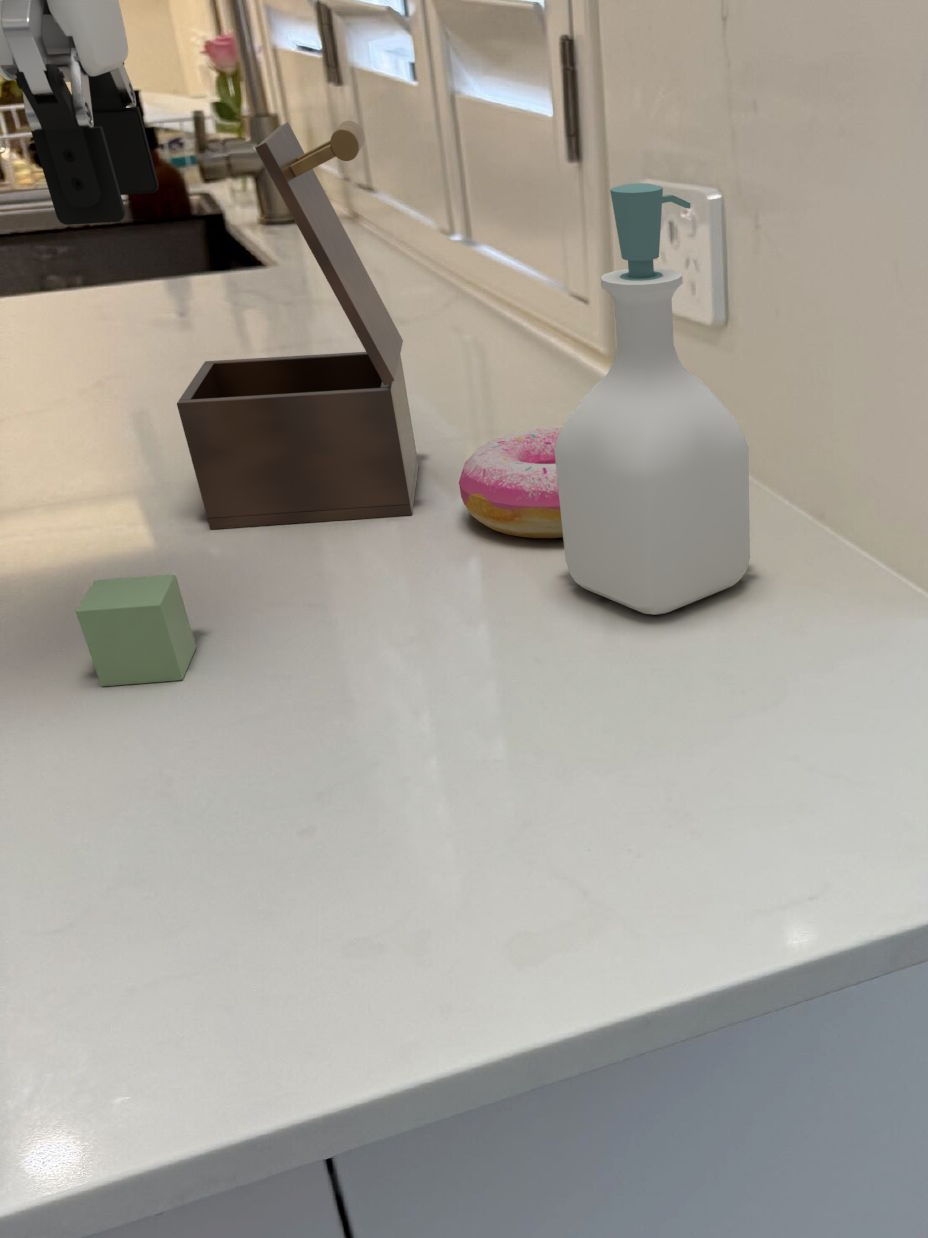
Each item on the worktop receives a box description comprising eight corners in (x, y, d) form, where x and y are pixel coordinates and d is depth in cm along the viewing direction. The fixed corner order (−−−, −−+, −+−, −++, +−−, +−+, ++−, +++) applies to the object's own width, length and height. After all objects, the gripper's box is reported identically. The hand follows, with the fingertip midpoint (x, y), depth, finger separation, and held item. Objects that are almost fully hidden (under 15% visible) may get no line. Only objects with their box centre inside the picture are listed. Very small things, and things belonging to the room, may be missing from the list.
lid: (254, 148, 83) (333, 107, 82) (278, 127, 92) (348, 90, 91) (384, 385, 92) (456, 351, 91) (394, 345, 101) (459, 313, 100)
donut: (518, 478, 104) (510, 412, 101) (675, 493, 100) (672, 425, 97) (432, 538, 94) (420, 466, 91) (603, 557, 90) (597, 484, 87)
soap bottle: (763, 585, 86) (761, 181, 72) (653, 631, 80) (627, 205, 66) (664, 548, 91) (643, 167, 77) (555, 589, 86) (511, 188, 72)
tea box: (209, 529, 96) (176, 403, 91) (234, 478, 105) (204, 361, 100) (412, 515, 98) (390, 390, 92) (418, 466, 107) (399, 349, 101)
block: (101, 687, 76) (75, 611, 73) (118, 653, 80) (94, 579, 77) (182, 680, 77) (160, 604, 74) (196, 647, 80) (175, 573, 77)
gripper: (-40, -207, 66) (75, 188, 76) (-166, -246, 52) (-5, 240, 63) (116, -211, 67) (208, 180, 77) (32, -250, 53) (158, 230, 64)
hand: (112, 207), depth 70 cm, fingers open, 9 cm apart
